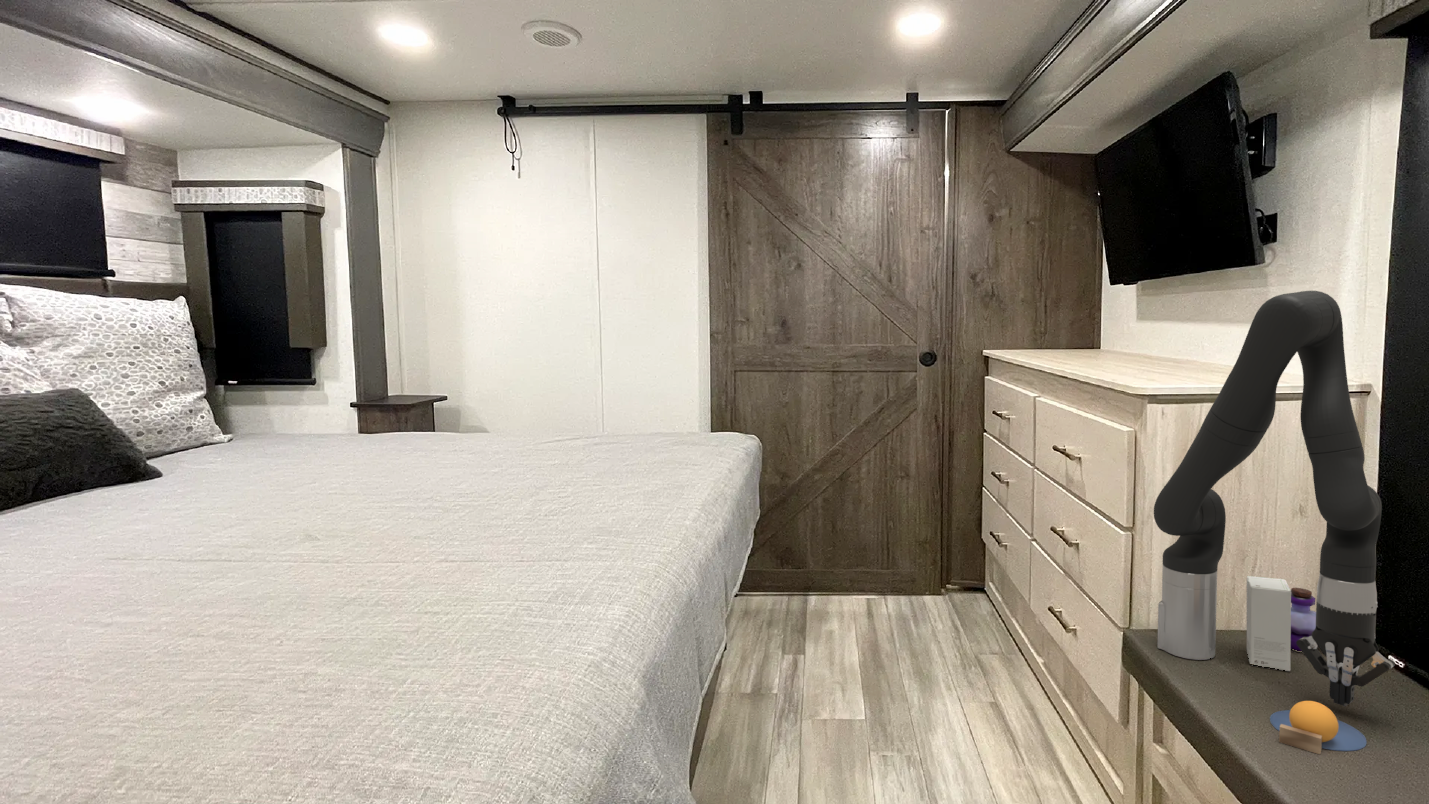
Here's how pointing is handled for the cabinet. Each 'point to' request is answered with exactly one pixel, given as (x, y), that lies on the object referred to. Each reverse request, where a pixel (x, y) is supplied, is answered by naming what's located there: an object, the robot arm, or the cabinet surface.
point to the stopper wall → (1300, 739)
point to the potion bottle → (1301, 615)
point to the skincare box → (1269, 622)
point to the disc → (1342, 741)
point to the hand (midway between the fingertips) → (1341, 703)
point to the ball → (1314, 719)
